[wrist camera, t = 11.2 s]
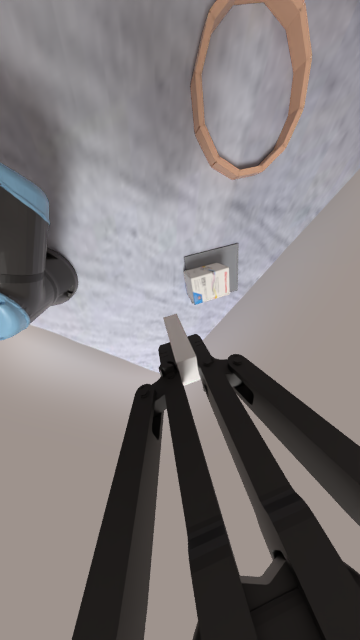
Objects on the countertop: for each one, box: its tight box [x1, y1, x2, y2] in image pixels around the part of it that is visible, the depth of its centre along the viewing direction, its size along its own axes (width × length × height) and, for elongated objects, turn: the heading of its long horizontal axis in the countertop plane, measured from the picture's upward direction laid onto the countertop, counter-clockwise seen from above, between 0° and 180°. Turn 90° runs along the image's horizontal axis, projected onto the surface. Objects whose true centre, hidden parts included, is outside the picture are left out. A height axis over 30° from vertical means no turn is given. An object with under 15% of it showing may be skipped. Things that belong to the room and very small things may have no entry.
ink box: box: [184, 263, 230, 305], centre depth 47 cm, size 9×8×12 cm
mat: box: [184, 243, 238, 303], centre depth 51 cm, size 18×16×1 cm
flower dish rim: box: [190, 0, 312, 180], centre depth 32 cm, size 25×25×3 cm
